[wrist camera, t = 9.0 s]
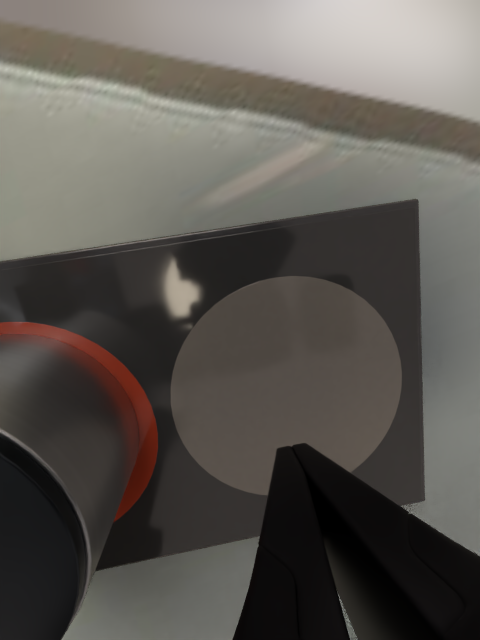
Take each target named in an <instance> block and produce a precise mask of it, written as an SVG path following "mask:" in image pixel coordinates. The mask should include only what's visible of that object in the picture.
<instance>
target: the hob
mask: <svg viewBox="0 0 480 640" xmlns="http://www.w3.org/2000/svg"><path fill="white" fill-rule="evenodd" d="M3 334H27V335H36V336H42V337H46V338H50V339H55V340H57V341H60V342H63V343H66V344H69V345H71V346H73V347H75V348H77V349H79V350H81V351H83V352H85V353H86V354H88V355H89V356H91V357H92V358H94V359H95V360H97V361H98V362H99V363H100V364H102V365H103V366H104V367H105V368H106V369H108V371H109V372H110V373H111V374H112V375H113V376H114V377H115V378H116V379H117V380H118V382H119V383H120V385H121V386H122V387H123V389H124V390H125V392H126V394H127V395H128V397H129V399H130V401H131V403H132V406H133V409H134V411H135V414H136V418H137V423H138V428H139V447H138V454H137V458H136V462H135V465H134V468H133V471H132V473H131V476H130V479H129V481H128V484H127V487H126V489H125V492H124V495H123V497H122V500H121V503H120V505H119V508H118V511H117V513H116V516H115V519H114V521H113V524H112V527H111V529H110V532H109V535H108V537H107V540H106V543H105V545H104V548H103V551H102V553H101V556H100V559H99V561H98V564H97V567H96V569H95V571H99V570H104V569H108V568H113V567H118V566H122V565H127V564H132V563H136V562H141V561H146V560H150V559H155V558H160V557H164V556H169V555H174V554H178V553H183V552H188V551H192V550H197V549H202V548H206V547H211V546H216V545H220V544H225V543H230V542H234V541H239V540H244V539H248V538H253V537H258V536H260V534H261V528H262V523H263V518H264V513H265V508H266V502H267V497H268V492H269V487H270V482H271V476H272V471H273V466H274V461H275V456H276V451H277V448H280V447H285V446H291V447H292V446H293V445H295V444H300V443H307V444H308V445H310V446H311V447H313V448H314V449H316V450H317V451H319V452H320V453H322V454H323V455H325V456H326V457H328V458H329V459H331V460H332V461H334V462H335V463H337V464H338V465H340V466H341V467H343V468H344V469H346V470H347V471H349V472H350V473H351V474H353V475H354V476H356V477H357V478H359V479H360V480H362V481H363V482H365V483H366V484H368V485H369V486H371V487H372V488H374V489H375V490H377V491H378V492H380V493H381V494H383V495H384V496H386V497H387V498H389V499H390V500H392V501H393V502H395V503H396V504H398V505H399V506H403V505H407V504H412V503H417V502H421V501H424V500H425V485H424V439H423V392H422V346H421V299H420V253H419V206H418V199H412V200H406V201H399V202H392V203H386V204H379V205H372V206H366V207H359V208H353V209H346V210H339V211H333V212H326V213H319V214H313V215H306V216H299V217H293V218H286V219H280V220H273V221H266V222H260V223H253V224H246V225H240V226H233V227H226V228H220V229H213V230H207V231H200V232H193V233H187V234H180V235H173V236H167V237H160V238H153V239H147V240H140V241H133V242H127V243H120V244H114V245H107V246H100V247H94V248H87V249H80V250H74V251H67V252H60V253H54V254H47V255H41V256H34V257H27V258H21V259H14V260H7V261H1V262H0V335H3Z"/></svg>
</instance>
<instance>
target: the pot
mask: <svg viewBox="0 0 480 640" xmlns="http://www.w3.org/2000/svg"><path fill="white" fill-rule="evenodd" d="M138 447H139V428H138V423H137V418H136V414H135V411H134V409H133V406H132V403H131V401H130V399H129V397H128V395H127V394H126V392H125V390H124V389H123V387H122V386H121V385H120V383H119V382H118V380H117V379H116V378H115V377H114V376H113V375H112V374H111V373H110V372H109V371H108V369H106V368H105V367H104V366H103V365H102V364H100V363H99V362H98V361H97V360H95V359H94V358H92V357H91V356H89V355H88V354H86V353H85V352H83V351H81V350H79V349H77V348H75V347H73V346H71V345H69V344H66V343H63V342H60V341H57V340H55V339H50V338H46V337H42V336H36V335H27V334H3V335H0V640H61V639H62V638H63V636H64V634H65V633H66V631H67V629H68V628H69V626H70V624H71V623H72V621H73V620H74V618H75V616H76V615H77V613H78V611H79V610H80V608H81V605H82V603H83V600H84V598H85V596H86V593H87V591H88V588H89V585H90V583H91V580H92V577H93V575H94V572H95V569H96V567H97V564H98V561H99V559H100V556H101V553H102V551H103V548H104V545H105V543H106V540H107V537H108V535H109V532H110V529H111V527H112V524H113V521H114V519H115V516H116V513H117V511H118V508H119V505H120V503H121V500H122V497H123V495H124V492H125V489H126V487H127V484H128V481H129V479H130V476H131V473H132V471H133V468H134V465H135V462H136V458H137V454H138Z"/></svg>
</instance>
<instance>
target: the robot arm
mask: <svg viewBox="0 0 480 640" xmlns="http://www.w3.org/2000/svg"><path fill="white" fill-rule="evenodd" d="M336 589H337V590H336ZM337 591H338V593H337ZM338 594H339V596H340V598H341V601H342V603H343V605H344V608H345V610H346V612H347V615H348V617H349V620H350V622H351V624H352V627H353V629H354V631H355V634H356V636H357V638H358V640H480V556H478V555H477V554H475V553H473V552H471V551H470V550H468V549H466V548H465V547H463V546H461V545H460V544H458V543H456V542H454V541H453V540H451V539H450V538H448V537H446V536H445V535H443V534H442V533H440V532H439V531H437V530H436V529H434V528H432V527H431V526H429V525H428V524H426V523H425V522H423V521H422V520H420V519H419V518H417V517H416V516H414V515H413V514H409V513H408V511H407V510H405V509H404V508H402V507H401V506H399V505H398V504H396V503H395V502H393V501H392V500H390V499H389V498H387V497H386V496H384V495H383V494H381V493H380V492H378V491H377V490H375V489H374V488H372V487H371V486H369V485H368V484H366V483H365V482H363V481H362V480H360V479H359V478H357V477H356V476H354V475H353V474H351V473H350V472H349V471H347V470H346V469H344V468H343V467H341V466H340V465H338V464H337V463H335V462H334V461H332V460H331V459H329V458H328V457H326V456H325V455H323V454H322V453H320V452H319V451H317V450H316V449H314V448H313V447H311V446H310V445H308V444H307V443H300V444H295V445H293V446H292V447H291V446H285V447H280V448H277V451H276V456H275V461H274V466H273V471H272V476H271V482H270V487H269V492H268V497H267V502H266V508H265V513H264V518H263V523H262V528H261V534H260V539H259V546H258V548H257V553H256V559H255V564H254V568H253V572H252V577H251V581H250V585H249V589H248V592H247V596H246V599H245V602H244V606H243V609H242V613H241V616H240V619H239V622H238V625H237V628H236V631H235V634H234V637H233V640H350V638H349V634H348V631H347V627H346V623H345V619H344V616H343V612H342V608H341V604H340V601H339V597H338Z"/></svg>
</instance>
